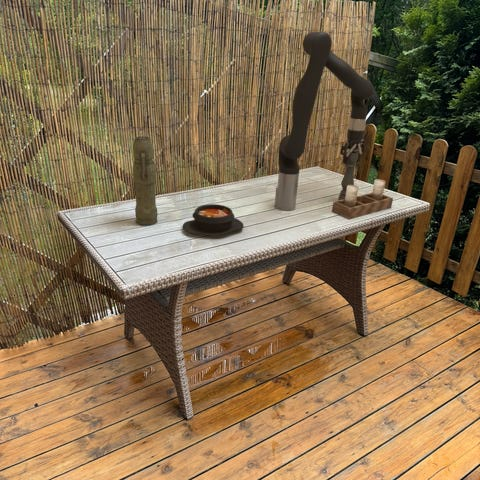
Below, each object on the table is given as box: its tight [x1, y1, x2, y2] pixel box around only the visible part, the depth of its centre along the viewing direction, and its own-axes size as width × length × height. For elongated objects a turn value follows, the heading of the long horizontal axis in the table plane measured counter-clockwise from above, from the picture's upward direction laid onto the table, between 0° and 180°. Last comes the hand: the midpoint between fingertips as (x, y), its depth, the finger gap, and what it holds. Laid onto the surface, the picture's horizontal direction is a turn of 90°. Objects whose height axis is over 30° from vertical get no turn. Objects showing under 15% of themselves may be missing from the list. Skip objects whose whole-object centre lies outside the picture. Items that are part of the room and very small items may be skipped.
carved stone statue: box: [132, 136, 158, 227], centre depth 170 cm, size 9×12×35 cm
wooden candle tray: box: [331, 178, 394, 220], centre depth 199 cm, size 30×10×13 cm, turn 124°
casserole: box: [182, 203, 244, 236], centre depth 171 cm, size 25×19×8 cm
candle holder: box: [338, 150, 359, 200], centre depth 205 cm, size 6×6×25 cm
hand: (351, 162), depth 202 cm, fingers open, 8 cm apart
